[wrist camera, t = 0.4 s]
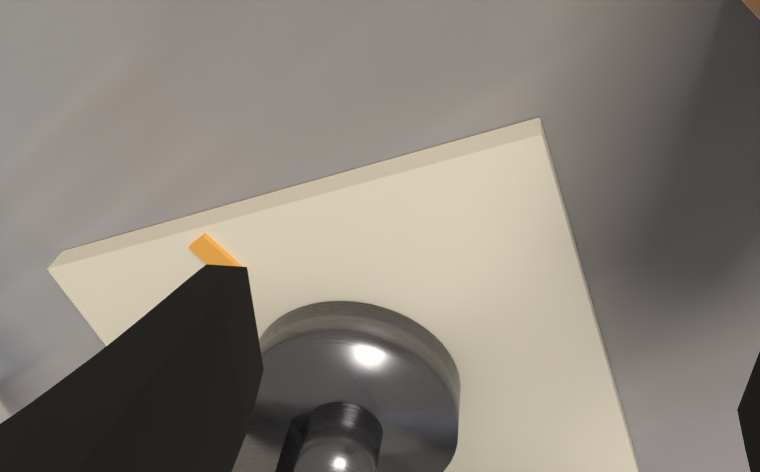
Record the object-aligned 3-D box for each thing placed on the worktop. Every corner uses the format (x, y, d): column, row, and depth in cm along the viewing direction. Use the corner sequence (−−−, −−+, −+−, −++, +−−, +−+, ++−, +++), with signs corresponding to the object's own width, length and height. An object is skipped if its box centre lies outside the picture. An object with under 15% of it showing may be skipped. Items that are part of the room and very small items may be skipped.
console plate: (635, 457, 25) (641, 486, 24) (251, 504, 30) (243, 530, 29) (539, 117, 18) (542, 137, 17) (62, 251, 23) (43, 272, 22)
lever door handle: (419, 280, 21) (402, 391, 17) (486, 435, 24) (485, 556, 20) (105, 349, 24) (37, 453, 21) (203, 475, 28) (159, 584, 24)
